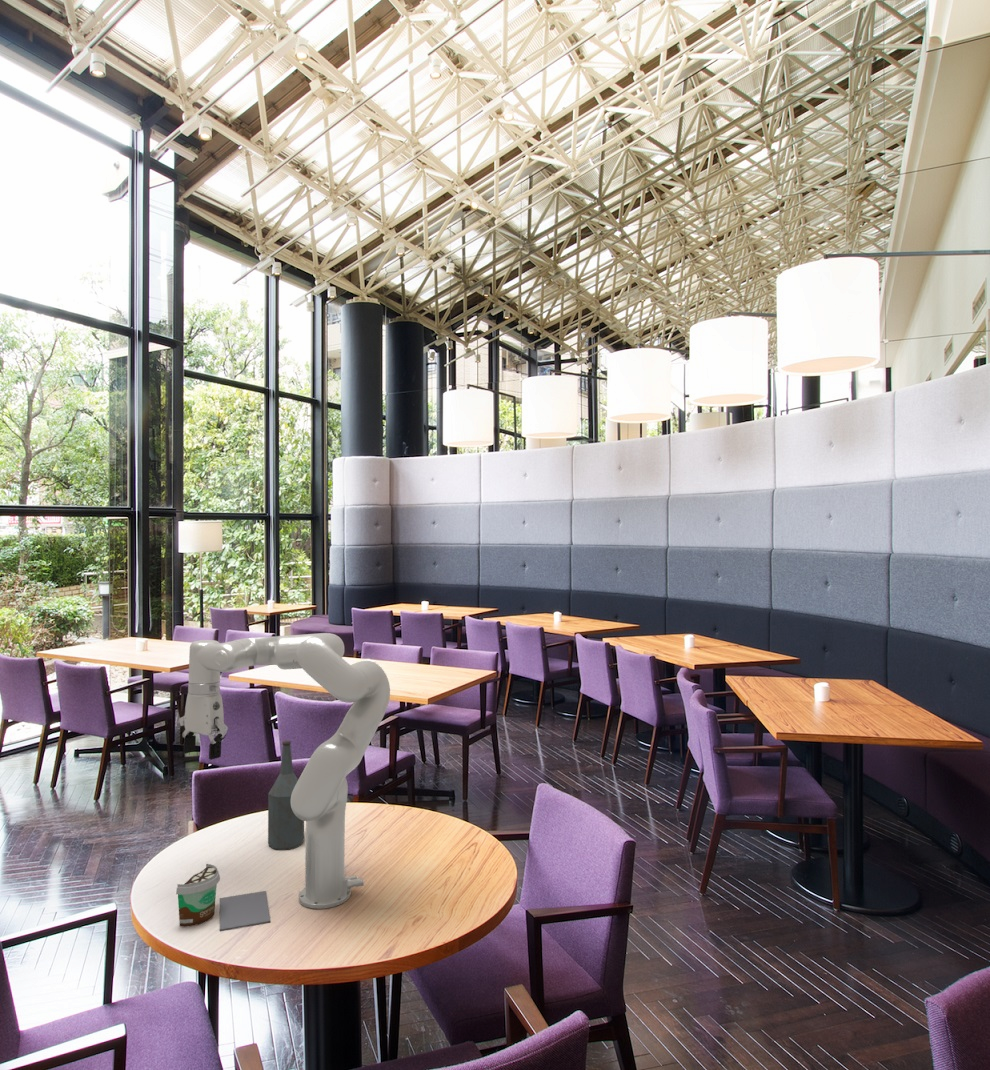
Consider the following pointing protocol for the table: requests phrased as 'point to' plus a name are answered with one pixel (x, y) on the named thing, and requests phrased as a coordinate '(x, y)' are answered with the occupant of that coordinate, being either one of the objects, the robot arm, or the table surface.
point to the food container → (198, 897)
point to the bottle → (284, 807)
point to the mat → (244, 910)
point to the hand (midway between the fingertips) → (202, 755)
